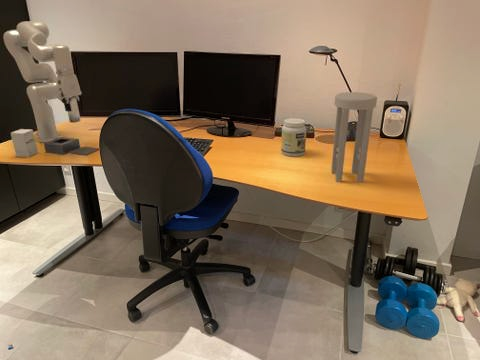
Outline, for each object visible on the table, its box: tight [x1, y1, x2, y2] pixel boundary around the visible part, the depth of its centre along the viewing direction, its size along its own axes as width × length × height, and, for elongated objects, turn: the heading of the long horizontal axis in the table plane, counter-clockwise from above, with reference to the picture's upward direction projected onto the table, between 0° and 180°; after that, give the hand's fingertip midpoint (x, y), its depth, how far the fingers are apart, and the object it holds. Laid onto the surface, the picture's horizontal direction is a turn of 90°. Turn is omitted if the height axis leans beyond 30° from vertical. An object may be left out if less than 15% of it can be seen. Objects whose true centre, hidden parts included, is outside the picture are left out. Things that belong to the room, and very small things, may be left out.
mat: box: [70, 146, 100, 157], centre depth 196 cm, size 10×10×1 cm
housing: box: [43, 136, 81, 156], centre depth 198 cm, size 12×12×5 cm
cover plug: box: [65, 97, 81, 123], centre depth 188 cm, size 5×5×12 cm
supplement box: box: [10, 128, 39, 158], centre depth 190 cm, size 7×7×13 cm
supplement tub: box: [280, 117, 307, 158], centre depth 187 cm, size 12×12×17 cm
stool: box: [330, 91, 378, 183], centre depth 155 cm, size 16×16×35 cm
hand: (72, 109), depth 188 cm, fingers closed on cover plug, 5 cm apart
